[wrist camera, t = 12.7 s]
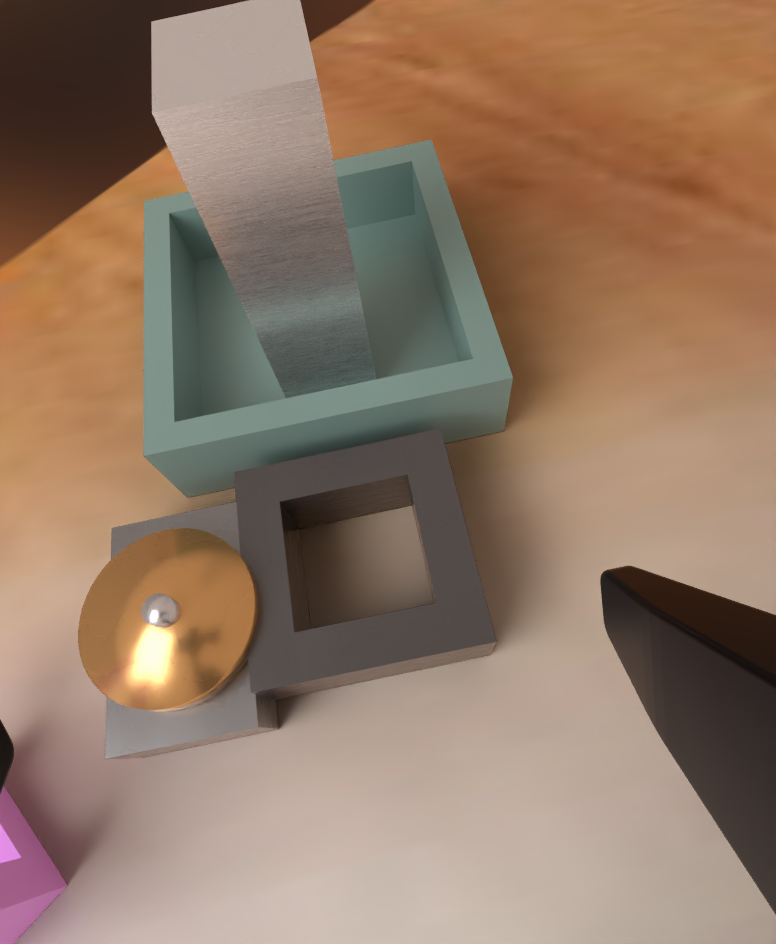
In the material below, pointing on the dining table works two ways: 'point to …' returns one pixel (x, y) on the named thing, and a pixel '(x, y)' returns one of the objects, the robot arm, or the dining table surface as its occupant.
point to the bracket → (22, 873)
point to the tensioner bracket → (270, 599)
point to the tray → (387, 321)
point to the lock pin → (265, 182)
